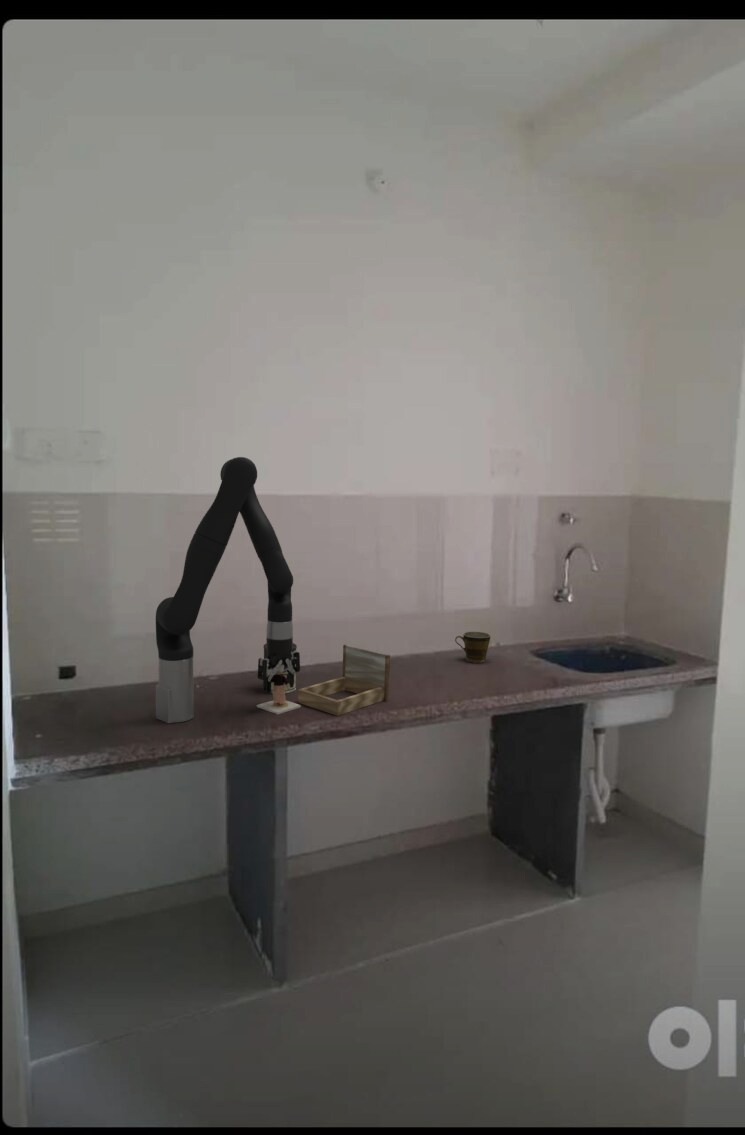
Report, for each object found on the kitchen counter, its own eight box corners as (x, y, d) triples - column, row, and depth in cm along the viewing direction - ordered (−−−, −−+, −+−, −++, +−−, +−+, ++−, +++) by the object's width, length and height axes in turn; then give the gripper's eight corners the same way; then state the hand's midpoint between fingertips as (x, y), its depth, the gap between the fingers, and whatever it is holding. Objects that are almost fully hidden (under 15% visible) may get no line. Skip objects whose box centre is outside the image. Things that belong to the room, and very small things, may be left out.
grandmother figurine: (292, 703, 215) (293, 661, 214) (289, 708, 212) (290, 665, 210) (267, 702, 217) (267, 660, 215) (263, 706, 213) (263, 663, 211)
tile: (277, 714, 208) (277, 712, 208) (256, 707, 214) (256, 705, 214) (300, 707, 215) (300, 705, 215) (280, 700, 221) (280, 698, 220)
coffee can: (256, 690, 230) (256, 646, 228) (277, 682, 239) (277, 639, 237) (282, 696, 225) (283, 651, 223) (302, 687, 233) (303, 644, 232)
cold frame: (340, 716, 208) (341, 668, 206) (295, 701, 219) (296, 656, 218) (388, 700, 224) (390, 655, 222) (344, 687, 235) (345, 644, 234)
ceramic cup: (486, 657, 278) (487, 631, 276) (491, 664, 268) (493, 637, 266) (451, 657, 277) (453, 631, 275) (456, 664, 267) (457, 637, 266)
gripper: (269, 641, 204) (268, 698, 206) (306, 634, 214) (305, 687, 216) (251, 637, 208) (251, 692, 211) (289, 629, 219) (288, 682, 221)
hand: (279, 690), depth 214 cm, fingers open, 8 cm apart
